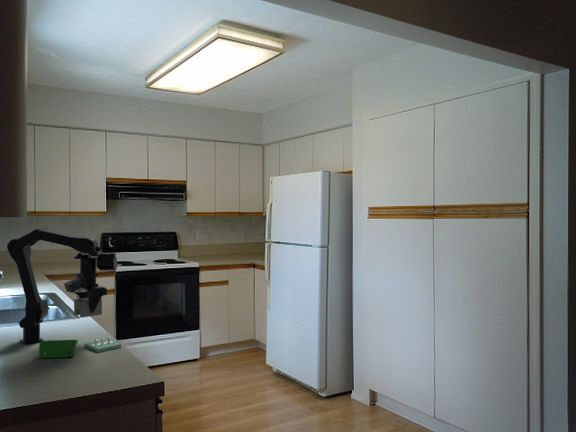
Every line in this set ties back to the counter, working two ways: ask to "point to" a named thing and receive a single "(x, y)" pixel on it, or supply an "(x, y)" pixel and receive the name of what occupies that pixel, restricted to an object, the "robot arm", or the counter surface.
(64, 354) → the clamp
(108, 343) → the pin board
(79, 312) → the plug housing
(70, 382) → the counter surface
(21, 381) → the counter surface
